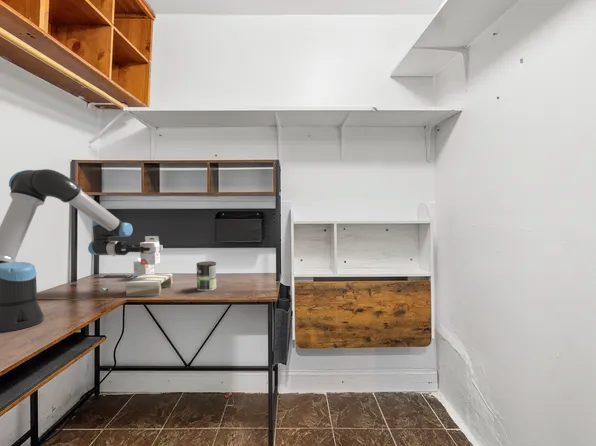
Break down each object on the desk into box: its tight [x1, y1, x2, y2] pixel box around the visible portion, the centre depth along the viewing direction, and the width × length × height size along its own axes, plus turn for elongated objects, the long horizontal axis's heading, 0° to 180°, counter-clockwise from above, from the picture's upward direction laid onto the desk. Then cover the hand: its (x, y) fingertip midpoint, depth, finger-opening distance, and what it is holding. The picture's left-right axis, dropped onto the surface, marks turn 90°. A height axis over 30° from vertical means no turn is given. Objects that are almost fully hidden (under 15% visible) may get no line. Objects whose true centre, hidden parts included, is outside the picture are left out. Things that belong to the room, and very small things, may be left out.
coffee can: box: [196, 260, 217, 292], centre depth 171 cm, size 10×10×14 cm
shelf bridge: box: [125, 273, 174, 297], centre depth 167 cm, size 20×16×7 cm
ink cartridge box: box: [139, 235, 161, 266], centre depth 167 cm, size 9×5×15 cm, turn 82°
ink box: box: [133, 257, 155, 279], centre depth 196 cm, size 9×8×13 cm
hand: (159, 248), depth 166 cm, fingers closed on ink cartridge box, 5 cm apart
